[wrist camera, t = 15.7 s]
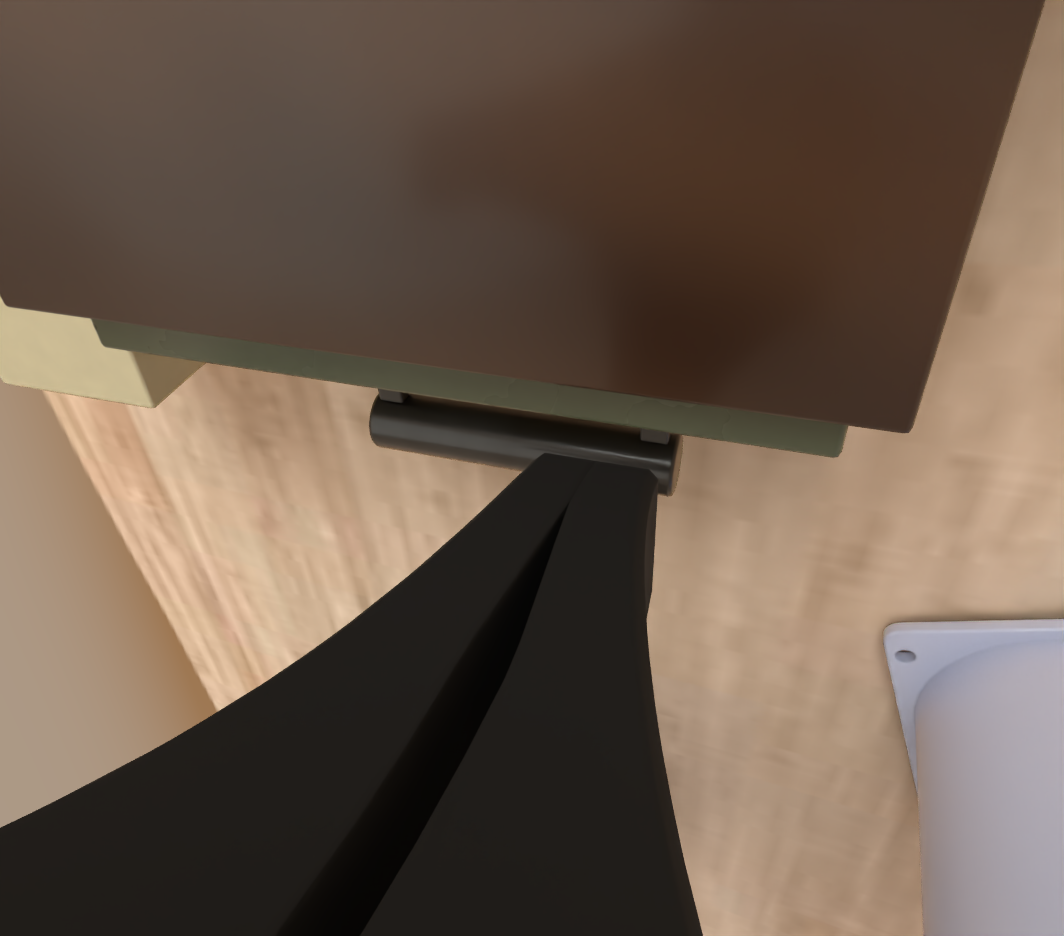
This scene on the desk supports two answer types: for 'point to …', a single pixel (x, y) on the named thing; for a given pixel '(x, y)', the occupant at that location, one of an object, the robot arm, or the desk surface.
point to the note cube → (82, 360)
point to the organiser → (519, 183)
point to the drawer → (498, 408)
